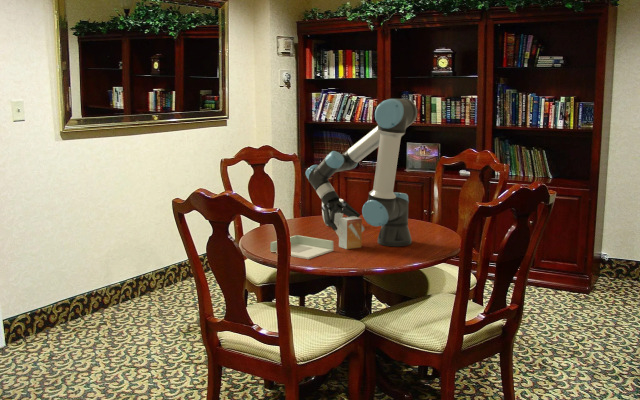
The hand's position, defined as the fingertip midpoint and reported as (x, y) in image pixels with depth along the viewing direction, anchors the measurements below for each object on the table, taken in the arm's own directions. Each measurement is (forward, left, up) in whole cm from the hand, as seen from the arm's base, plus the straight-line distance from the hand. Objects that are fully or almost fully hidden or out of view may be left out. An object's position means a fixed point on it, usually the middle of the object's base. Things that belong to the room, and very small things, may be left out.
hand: (352, 233), depth 292 cm
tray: (+13, +19, -6) cm, 24 cm away
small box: (+1, 0, -7) cm, 7 cm away
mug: (+34, -33, -7) cm, 48 cm away
